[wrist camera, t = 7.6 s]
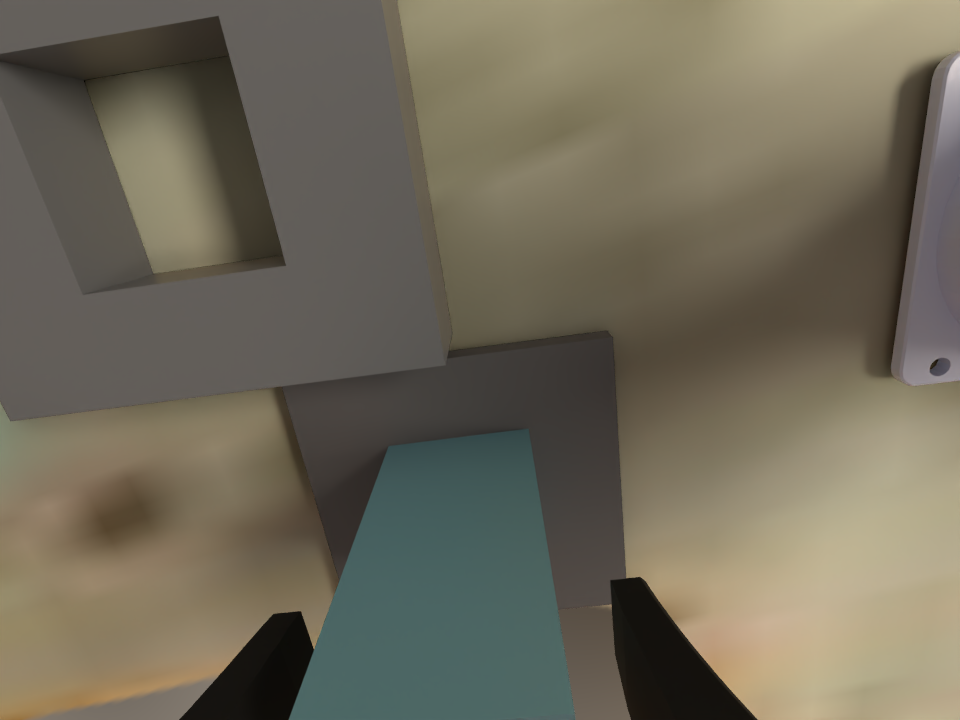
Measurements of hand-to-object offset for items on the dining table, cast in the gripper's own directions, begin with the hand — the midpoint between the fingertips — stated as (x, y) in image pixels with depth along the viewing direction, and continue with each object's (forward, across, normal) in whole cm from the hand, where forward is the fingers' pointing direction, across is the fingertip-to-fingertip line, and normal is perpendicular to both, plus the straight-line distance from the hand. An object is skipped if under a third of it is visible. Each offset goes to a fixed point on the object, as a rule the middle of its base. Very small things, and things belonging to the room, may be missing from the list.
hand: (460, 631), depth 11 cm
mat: (+5, 0, 0) cm, 5 cm away
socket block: (+5, +5, -10) cm, 12 cm away
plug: (+5, 0, 0) cm, 5 cm away
